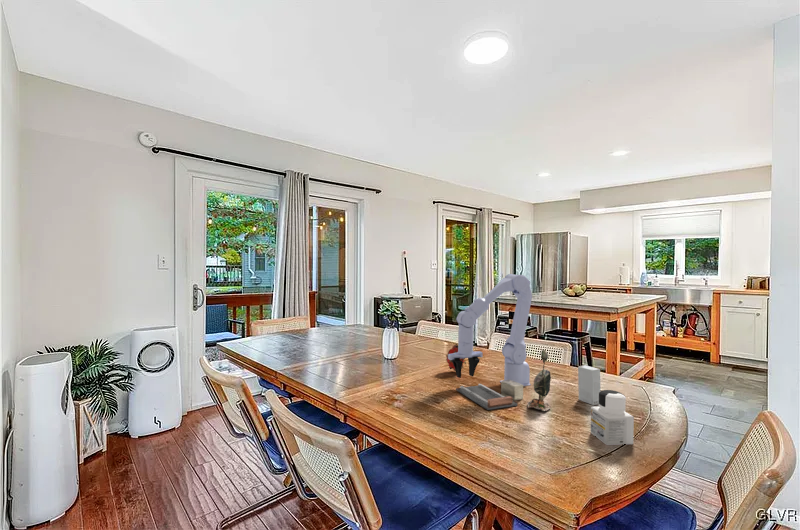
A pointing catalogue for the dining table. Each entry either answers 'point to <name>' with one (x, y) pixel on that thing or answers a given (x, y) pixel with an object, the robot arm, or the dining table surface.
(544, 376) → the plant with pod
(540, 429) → the dining table surface
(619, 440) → the container
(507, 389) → the block
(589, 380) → the skincare box
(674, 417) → the dining table surface
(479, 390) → the rail guide
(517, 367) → the robot arm
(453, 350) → the dragon fruit
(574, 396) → the dining table surface
